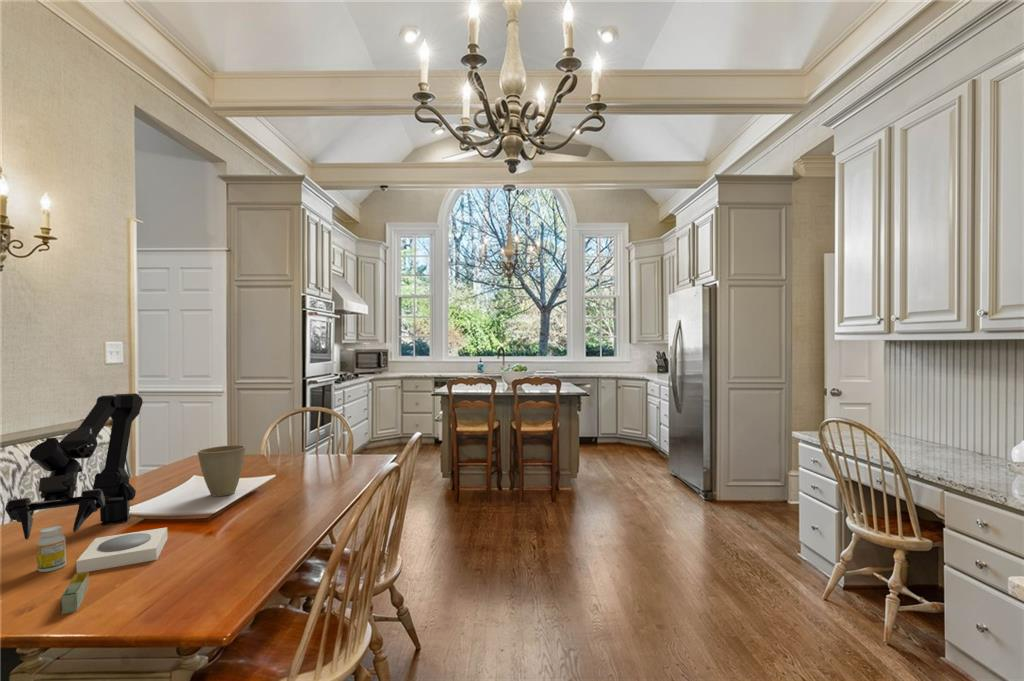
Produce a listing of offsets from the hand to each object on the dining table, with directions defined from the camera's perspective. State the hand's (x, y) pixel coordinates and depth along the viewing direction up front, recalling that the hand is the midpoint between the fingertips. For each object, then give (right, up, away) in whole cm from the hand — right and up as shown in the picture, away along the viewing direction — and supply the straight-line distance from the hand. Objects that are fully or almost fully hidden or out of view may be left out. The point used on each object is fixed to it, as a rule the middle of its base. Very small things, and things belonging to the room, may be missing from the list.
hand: (50, 535), depth 130 cm
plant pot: (+11, -7, +58) cm, 60 cm away
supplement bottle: (0, -8, 0) cm, 8 cm away
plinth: (+13, -7, +7) cm, 17 cm away
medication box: (+20, -8, -17) cm, 28 cm away
